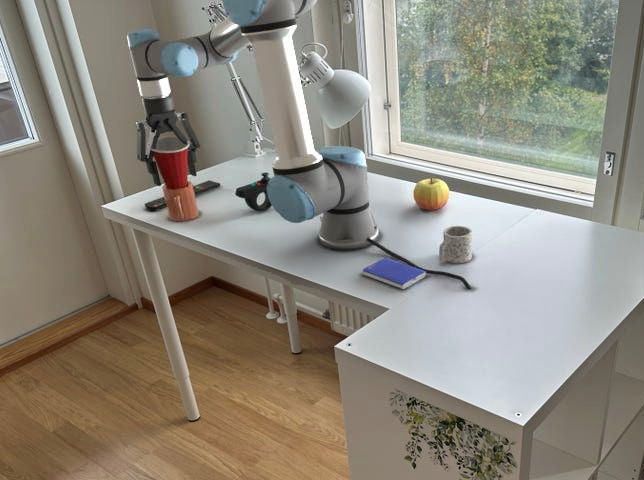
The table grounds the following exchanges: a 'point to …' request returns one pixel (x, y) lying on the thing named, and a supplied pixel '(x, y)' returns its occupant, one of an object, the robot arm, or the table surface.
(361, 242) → the robot arm
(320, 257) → the table surface
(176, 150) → the plastic cup
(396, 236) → the table surface
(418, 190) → the apple
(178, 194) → the mug
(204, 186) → the remote control
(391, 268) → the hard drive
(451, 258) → the mug
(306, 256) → the table surface
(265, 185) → the controller
